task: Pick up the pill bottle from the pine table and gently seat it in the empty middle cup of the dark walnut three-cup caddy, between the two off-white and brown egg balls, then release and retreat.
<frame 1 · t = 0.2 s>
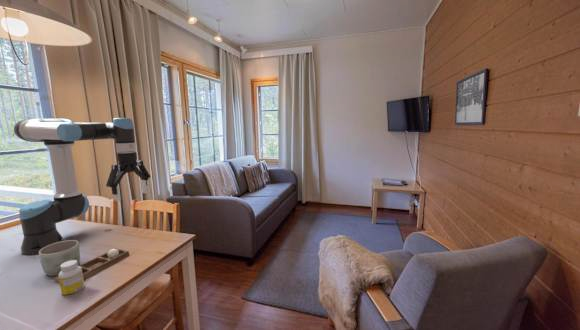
hand: (131, 196, 116), 28 cm above the table, fingers open, 13 cm apart
pill bottle: (73, 292, 92), on the table
brown egg ball: (75, 277, 99), resting on caddy
caddy: (95, 268, 106), on the table
white egg ball: (113, 258, 113), resting on caddy
planter: (63, 270, 105), on the table
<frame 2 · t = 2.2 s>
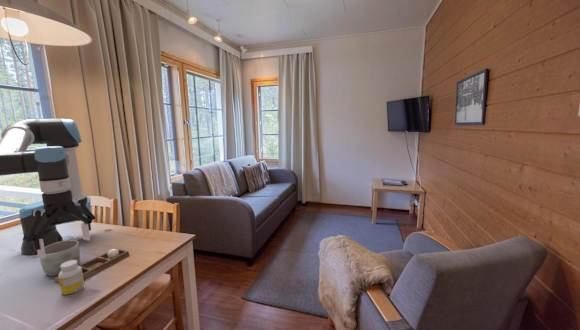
hand: (66, 248, 88), 18 cm above the table, fingers open, 13 cm apart
nothing on the table moved.
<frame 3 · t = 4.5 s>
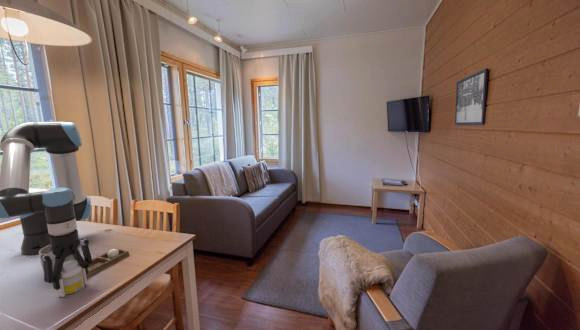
hand: (73, 289, 91), 1 cm above the table, fingers closed on pill bottle, 6 cm apart
pill bottle: (73, 292, 92), on the table, touching gripper
everything else where it was.
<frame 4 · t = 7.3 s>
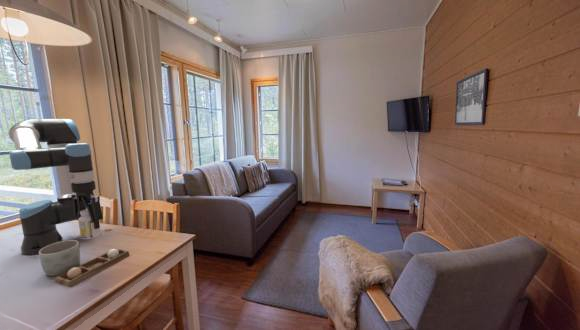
hand: (90, 234, 104), 16 cm above the table, fingers closed on pill bottle, 6 cm apart
pill bottle: (91, 236, 104), point 15 cm above the table, touching gripper
everything else where it was.
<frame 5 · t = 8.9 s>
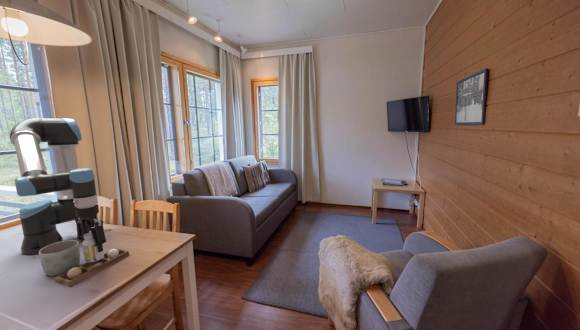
hand: (94, 256, 105), 5 cm above the table, fingers closed on pill bottle, 6 cm apart
pill bottle: (94, 259, 105), point 4 cm above the table, touching gripper
everything else where it was.
when the fingers open (3 cm above the table, at t = 10.1 s): pill bottle drops 2 cm, resting on caddy.
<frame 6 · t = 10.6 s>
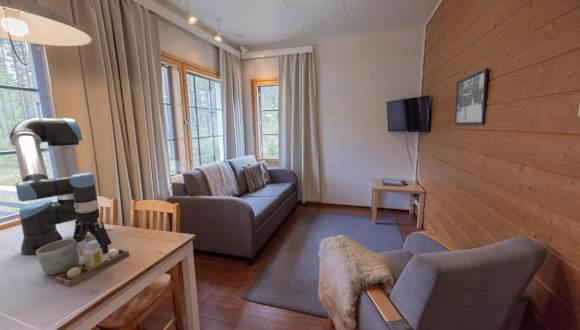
hand: (94, 257, 105), 5 cm above the table, fingers open, 13 cm apart
pill bottle: (95, 267, 106), resting on caddy
planter: (63, 269, 105), on the table, touching gripper
everything else where it was.
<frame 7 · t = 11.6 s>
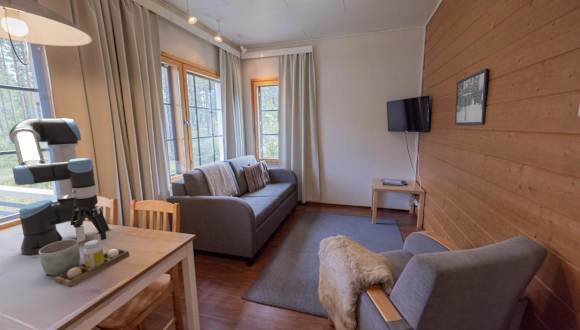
hand: (92, 243, 105), 11 cm above the table, fingers open, 13 cm apart
planter: (63, 269, 105), on the table
everything else where it was.
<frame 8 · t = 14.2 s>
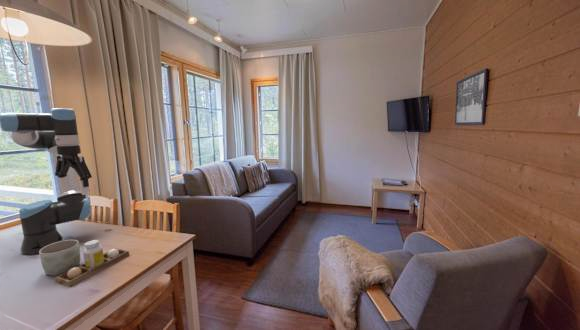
hand: (75, 192, 109), 32 cm above the table, fingers open, 13 cm apart
nothing on the table moved.
at the end: pill bottle 0.2 cm off-centre on the caddy, point 0.3 cm above the caddy's base; pill bottle tilted 0°; the gripper is holding nothing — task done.
